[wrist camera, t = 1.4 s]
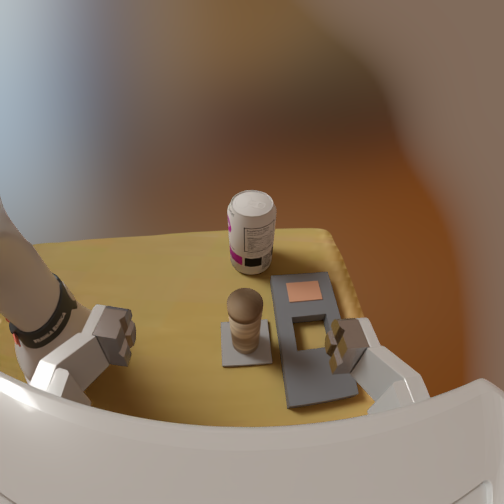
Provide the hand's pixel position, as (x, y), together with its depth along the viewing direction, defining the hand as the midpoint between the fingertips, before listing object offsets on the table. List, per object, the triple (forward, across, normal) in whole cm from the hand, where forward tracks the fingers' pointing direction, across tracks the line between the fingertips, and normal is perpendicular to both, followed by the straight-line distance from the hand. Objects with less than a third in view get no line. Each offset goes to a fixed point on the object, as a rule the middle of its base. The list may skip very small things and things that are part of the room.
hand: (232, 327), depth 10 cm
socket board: (+22, +15, -27) cm, 38 cm away
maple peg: (+21, +4, -28) cm, 35 cm away
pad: (+21, +4, -28) cm, 36 cm away
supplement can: (+39, +5, -24) cm, 46 cm away
